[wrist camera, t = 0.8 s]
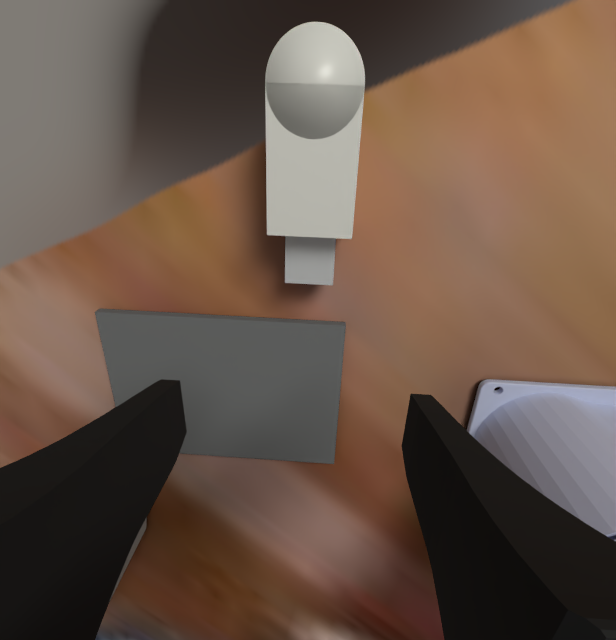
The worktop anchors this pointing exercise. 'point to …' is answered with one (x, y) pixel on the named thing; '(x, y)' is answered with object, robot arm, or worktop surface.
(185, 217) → the worktop surface
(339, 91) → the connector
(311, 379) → the mat
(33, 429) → the worktop surface
